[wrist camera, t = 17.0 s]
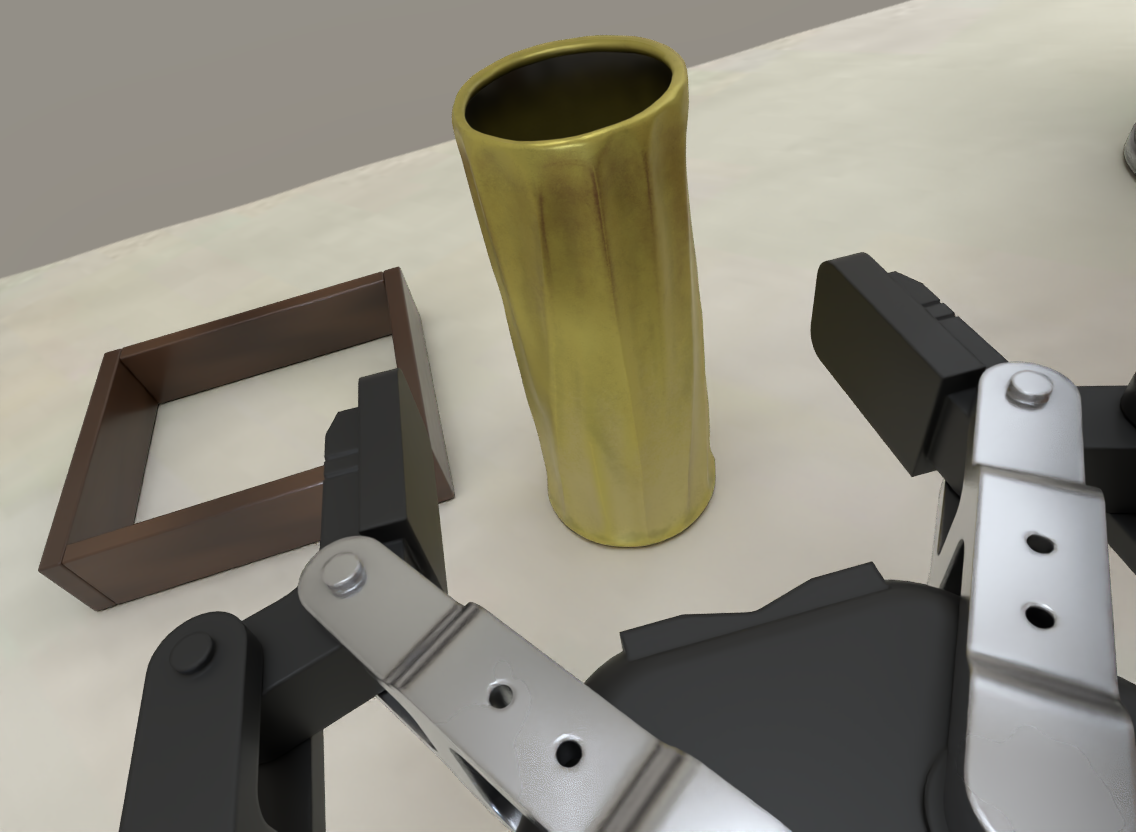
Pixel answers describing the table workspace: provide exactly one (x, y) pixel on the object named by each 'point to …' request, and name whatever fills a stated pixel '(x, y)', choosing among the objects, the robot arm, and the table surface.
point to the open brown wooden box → (243, 519)
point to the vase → (597, 274)
